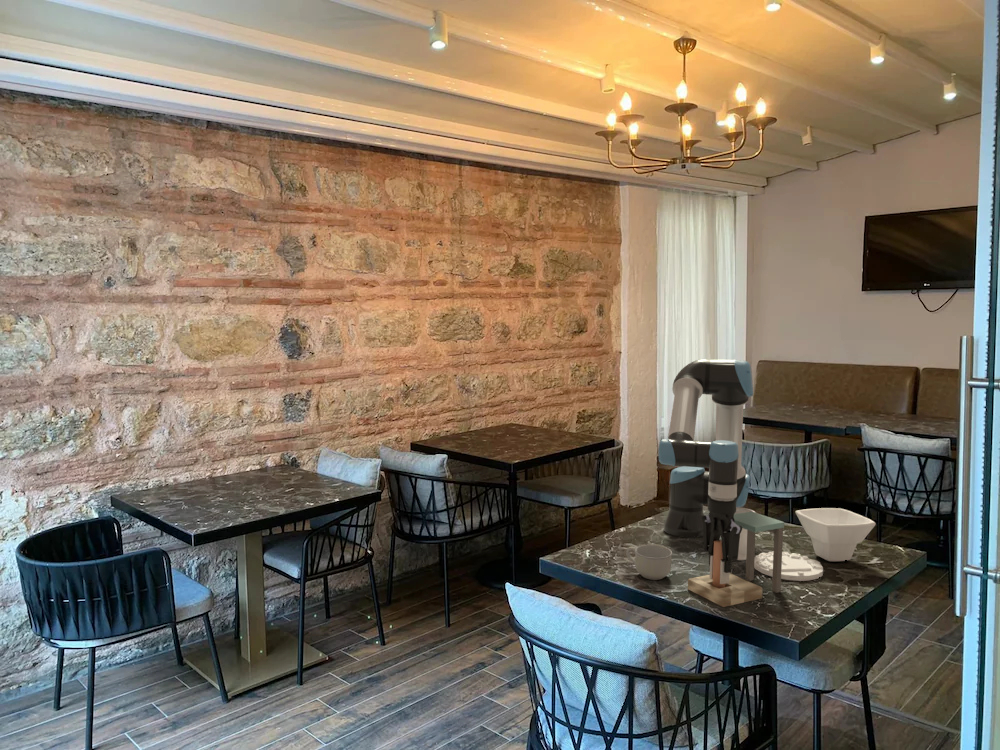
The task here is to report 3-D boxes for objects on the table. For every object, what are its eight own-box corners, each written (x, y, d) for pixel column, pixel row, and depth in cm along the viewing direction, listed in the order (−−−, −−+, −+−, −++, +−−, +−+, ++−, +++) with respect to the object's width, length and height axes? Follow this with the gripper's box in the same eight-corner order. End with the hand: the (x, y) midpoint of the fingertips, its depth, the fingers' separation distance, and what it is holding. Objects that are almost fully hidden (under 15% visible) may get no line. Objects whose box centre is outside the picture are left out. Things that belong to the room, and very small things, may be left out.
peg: (709, 590, 205) (711, 541, 204) (718, 588, 206) (720, 539, 205) (718, 594, 202) (720, 544, 201) (727, 592, 203) (729, 542, 202)
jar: (719, 560, 233) (721, 513, 231) (719, 550, 243) (720, 505, 241) (755, 563, 230) (756, 516, 229) (753, 553, 240) (754, 507, 238)
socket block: (687, 589, 208) (688, 578, 208) (725, 581, 214) (725, 571, 214) (723, 607, 196) (723, 596, 195) (762, 598, 202) (762, 587, 202)
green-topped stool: (721, 583, 212) (723, 516, 211) (749, 577, 217) (752, 511, 216) (752, 598, 202) (755, 527, 200) (781, 591, 207) (784, 522, 205)
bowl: (825, 571, 223) (827, 526, 222) (788, 551, 242) (790, 509, 241) (879, 567, 227) (881, 523, 226) (838, 547, 246) (840, 506, 245)
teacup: (678, 576, 218) (679, 550, 217) (657, 586, 211) (658, 558, 210) (639, 564, 228) (640, 539, 227) (618, 573, 221) (618, 547, 220)
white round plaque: (755, 579, 217) (755, 569, 217) (750, 557, 236) (751, 548, 236) (828, 586, 212) (828, 576, 212) (817, 563, 231) (818, 554, 231)
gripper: (691, 492, 207) (688, 573, 209) (733, 506, 193) (730, 593, 195) (711, 489, 211) (709, 569, 213) (754, 503, 196) (751, 588, 198)
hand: (719, 580), depth 204 cm, fingers closed on peg, 3 cm apart
